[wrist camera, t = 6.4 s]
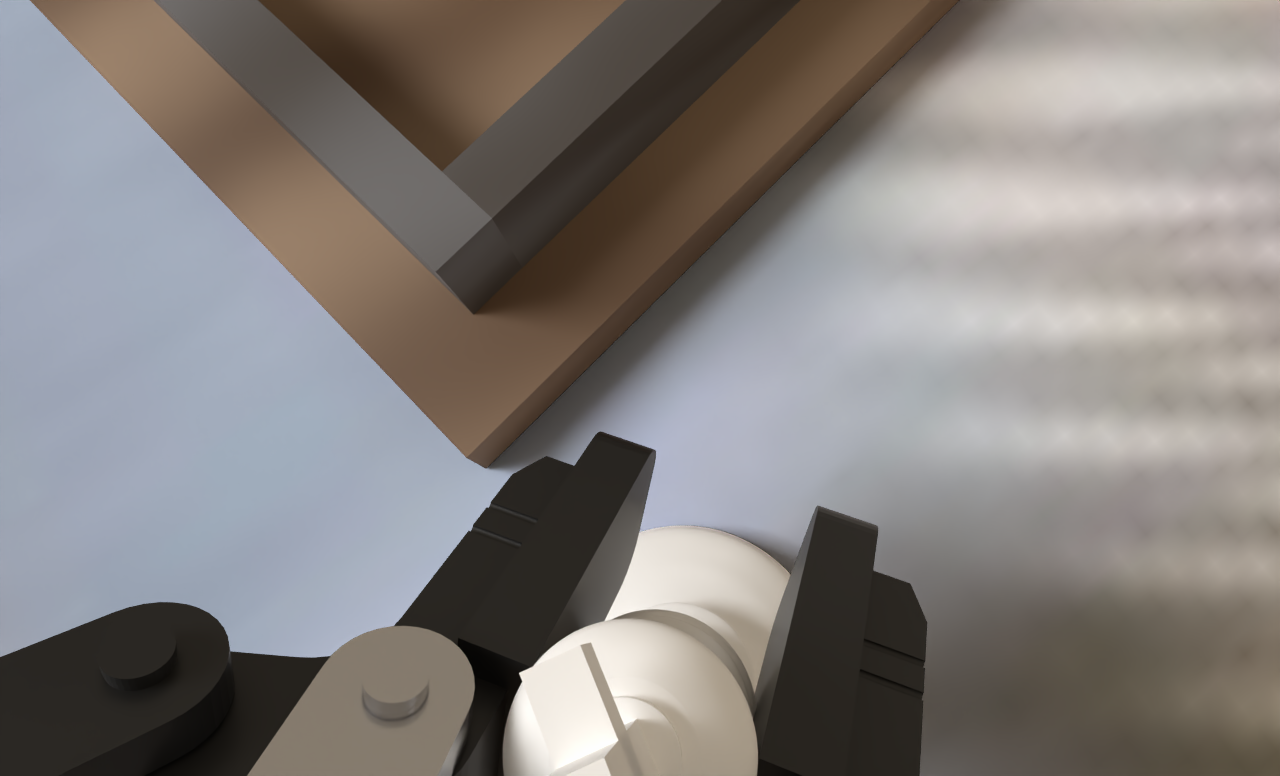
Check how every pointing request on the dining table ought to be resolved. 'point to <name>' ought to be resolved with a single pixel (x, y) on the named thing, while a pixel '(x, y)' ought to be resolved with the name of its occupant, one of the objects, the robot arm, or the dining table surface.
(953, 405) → the dining table surface
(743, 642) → the chess piece
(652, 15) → the walnut stand
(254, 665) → the robot arm
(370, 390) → the dining table surface
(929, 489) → the dining table surface
